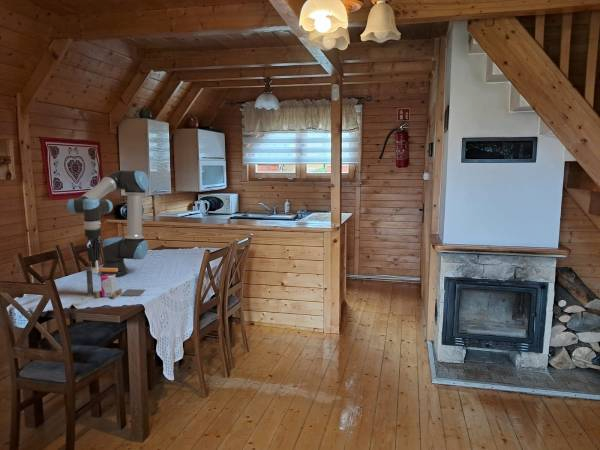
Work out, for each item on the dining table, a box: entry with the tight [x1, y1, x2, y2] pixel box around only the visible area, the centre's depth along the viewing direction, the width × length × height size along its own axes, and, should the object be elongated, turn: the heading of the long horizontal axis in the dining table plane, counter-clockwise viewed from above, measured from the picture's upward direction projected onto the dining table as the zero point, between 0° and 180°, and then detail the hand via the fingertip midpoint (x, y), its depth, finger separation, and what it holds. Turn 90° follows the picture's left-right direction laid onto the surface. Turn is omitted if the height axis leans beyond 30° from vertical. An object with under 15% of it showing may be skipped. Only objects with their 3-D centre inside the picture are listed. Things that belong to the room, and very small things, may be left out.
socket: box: [86, 271, 123, 300], centre depth 240 cm, size 10×16×14 cm, turn 89°
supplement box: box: [100, 274, 117, 298], centre depth 240 cm, size 6×6×12 cm
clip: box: [85, 266, 118, 272], centre depth 239 cm, size 3×17×2 cm, turn 89°
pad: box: [119, 288, 146, 297], centre depth 246 cm, size 10×10×1 cm
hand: (95, 272), depth 235 cm, fingers closed
